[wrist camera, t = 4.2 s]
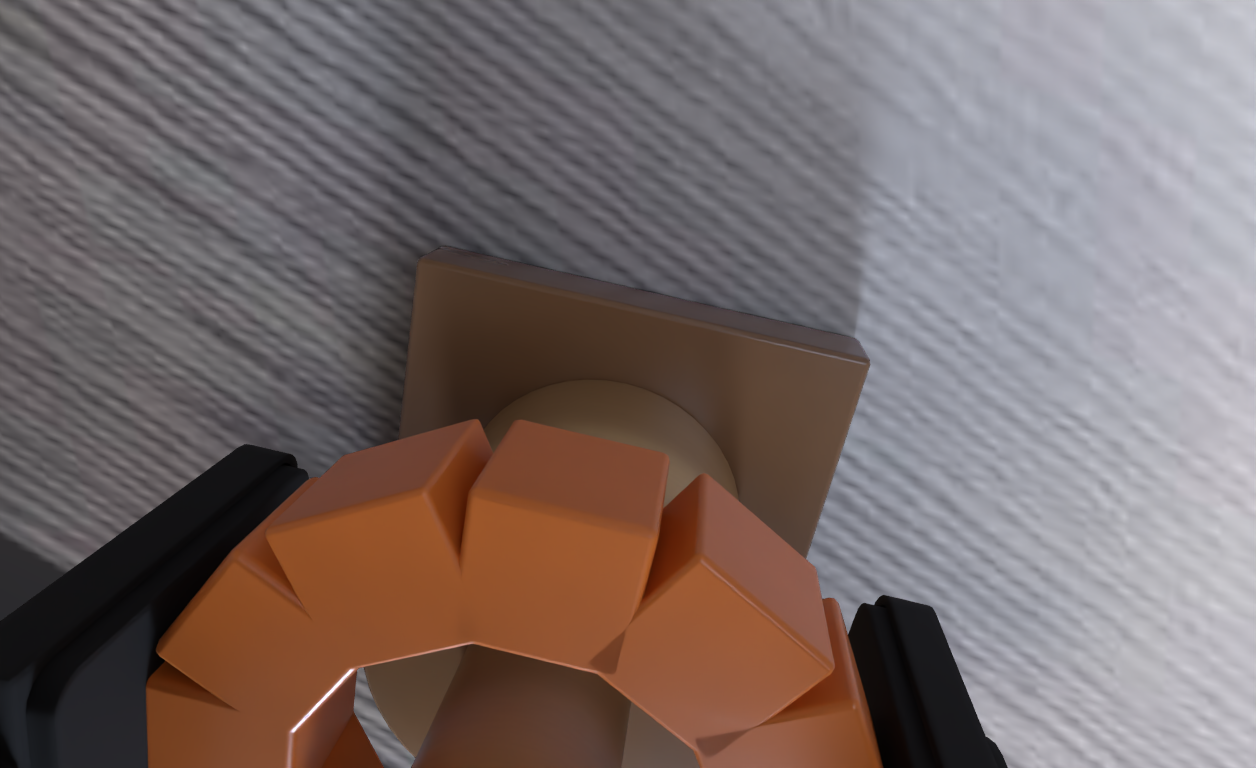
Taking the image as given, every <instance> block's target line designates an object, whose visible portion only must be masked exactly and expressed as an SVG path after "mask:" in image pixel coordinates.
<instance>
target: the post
mask: <svg viewBox="0 0 1256 768" xmlns="http://www.w3.org/2000/svg"><path fill="white" fill-rule="evenodd" d="M869 367H870V360H869V358H868V356H867V354H866V353H865V351H864V349H863V348H862V346H861V344H860V342H859V341H858V340H857V339H855V338H851V337H847V336H842V335H838V334H833V333H829V332H825V331H820V330H816V329H811V328H807V327H802V326H798V325H794V324H789V323H785V322H780V321H776V320H771V319H767V318H762V317H758V316H754V315H749V314H745V313H740V312H736V311H731V310H727V309H723V308H718V307H714V306H709V305H705V304H700V303H696V302H692V301H687V300H683V299H678V298H674V297H669V296H665V295H661V294H656V293H652V292H647V291H643V290H638V289H634V288H630V287H625V286H621V285H616V284H612V283H607V282H603V281H598V280H594V279H590V278H585V277H581V276H576V275H572V274H567V273H563V272H559V271H554V270H550V269H545V268H541V267H536V266H532V265H528V264H523V263H519V262H514V261H510V260H505V259H501V258H497V257H492V256H488V255H483V254H479V253H474V252H470V251H466V250H461V249H457V248H452V247H448V246H443V247H440V248H438V249H436V250H434V251H432V252H430V253H428V254H426V255H425V256H423V257H421V258H419V260H418V262H417V269H416V278H415V287H414V297H413V306H412V315H411V324H410V334H409V343H408V352H407V361H406V371H405V380H404V389H403V398H402V407H401V417H400V426H399V435H398V440H400V439H404V438H407V437H411V436H414V435H418V434H421V433H425V432H429V431H432V430H436V429H439V428H443V427H446V426H450V425H454V424H457V423H461V422H464V421H468V420H471V419H478V420H479V421H480V423H481V425H482V428H483V430H484V432H485V435H486V437H487V440H488V442H489V444H490V447H491V449H492V451H493V453H494V451H495V450H496V448H497V447H498V445H499V444H500V442H501V440H502V439H503V437H504V436H505V434H506V433H507V431H508V430H509V428H510V426H511V425H512V423H513V422H514V421H515V420H525V421H530V422H534V423H538V424H543V425H547V426H551V427H555V428H560V429H564V430H568V431H573V432H577V433H581V434H586V435H590V436H594V437H598V438H603V439H607V440H611V441H616V442H620V443H624V444H628V445H633V446H637V447H641V448H646V449H650V450H654V451H658V452H663V453H665V454H667V455H668V456H669V461H670V465H669V471H668V478H667V485H666V492H665V499H664V505H663V508H664V507H665V506H666V505H667V504H668V503H670V502H671V501H672V500H673V499H674V498H675V497H676V496H677V495H678V494H679V493H680V492H681V491H682V490H683V489H685V488H686V487H687V486H688V485H689V484H690V483H691V482H692V481H693V480H694V479H695V478H696V477H697V476H699V475H700V474H702V473H706V474H708V475H709V476H710V477H712V478H713V479H714V480H715V481H716V482H717V483H719V484H720V485H721V486H722V487H723V488H724V489H725V490H727V491H728V492H729V493H730V494H731V495H732V496H734V497H735V498H736V499H737V500H738V501H739V502H740V503H742V504H743V505H744V506H745V507H746V508H747V509H749V510H750V511H751V512H752V513H753V514H754V515H755V516H757V517H758V518H759V519H760V520H761V521H762V522H763V523H765V524H766V525H767V526H768V527H769V528H770V529H772V530H773V531H774V532H775V533H776V534H777V535H778V536H780V537H781V538H782V539H783V540H784V541H785V542H787V543H788V544H789V545H790V546H791V547H792V548H793V549H795V550H796V551H797V552H798V553H799V554H800V555H802V556H803V557H804V558H805V559H806V558H807V555H808V552H809V549H810V546H811V543H812V540H813V537H814V534H815V531H816V528H817V525H818V521H819V518H820V515H821V512H822V509H823V506H824V503H825V500H826V497H827V494H828V491H829V488H830V485H831V482H832V479H833V476H834V473H835V470H836V467H837V464H838V461H839V458H840V455H841V452H842V449H843V446H844V443H845V440H846V437H847V434H848V431H849V427H850V424H851V421H852V418H853V415H854V412H855V409H856V406H857V403H858V400H859V397H860V394H861V391H862V388H863V385H864V382H865V379H866V376H867V373H868V370H869ZM364 671H365V674H366V678H367V681H368V685H369V688H370V691H371V693H372V696H373V698H374V700H375V703H376V705H377V707H378V709H379V711H380V713H381V714H382V716H383V718H384V719H385V721H386V723H387V724H388V726H389V728H390V729H391V730H392V732H393V733H394V734H395V736H396V737H397V738H398V739H399V741H400V742H401V743H402V745H403V746H404V747H405V748H406V749H407V750H408V751H409V752H410V753H411V754H412V755H413V756H414V757H415V760H414V763H413V765H412V767H411V768H700V767H699V764H698V762H697V759H696V756H695V754H694V751H693V750H692V749H691V748H690V747H688V746H687V745H686V744H685V743H683V742H682V741H681V740H680V739H678V738H677V737H676V736H675V735H673V734H672V733H671V732H669V731H668V730H667V729H666V728H664V727H663V726H662V725H661V724H659V723H658V722H657V721H656V720H654V719H653V718H652V717H651V716H649V715H648V714H647V713H646V712H644V711H643V710H642V709H640V708H639V707H638V706H637V705H635V704H634V703H633V702H632V701H630V700H629V699H628V698H627V697H625V696H624V695H623V694H622V693H620V692H619V691H618V690H617V689H615V688H614V687H613V686H611V685H610V684H609V683H608V682H606V681H605V680H604V679H603V678H601V677H600V676H599V675H598V674H595V673H591V672H587V671H582V670H578V669H574V668H570V667H566V666H562V665H558V664H554V663H550V662H546V661H542V660H537V659H533V658H529V657H525V656H521V655H517V654H513V653H509V652H505V651H501V650H496V649H492V648H488V647H484V646H480V645H476V644H469V645H465V646H460V647H455V648H451V649H446V650H441V651H437V652H432V653H427V654H423V655H418V656H413V657H408V658H404V659H399V660H394V661H390V662H385V663H380V664H376V665H371V666H366V667H364Z"/></svg>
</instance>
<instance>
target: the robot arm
mask: <svg viewBox="0 0 1256 768" xmlns="http://www.w3.org/2000/svg"><path fill="white" fill-rule="evenodd" d="M307 480H309V477H308V473H307V472H306V471H305V470H303V469H299V468H298V464H297V461H296V458H295V457H294V456H293V455H292V454H288V453H283V452H279V451H275V450H271V449H267V448H262V447H258V446H254V445H248V444H244V445H242V446H240V447H238V448H237V449H236V450H234V451H233V452H232V453H230V454H229V455H227V456H226V457H225V458H223V459H222V460H221V461H219V462H218V463H216V464H215V465H214V466H212V467H211V468H210V469H208V470H207V471H205V472H204V473H203V474H201V475H200V476H199V477H197V478H196V479H195V480H193V481H192V482H190V483H189V484H188V485H186V486H185V487H184V488H182V489H181V490H179V491H178V492H177V493H175V494H174V495H173V496H171V497H170V498H168V499H167V500H166V501H164V502H163V503H162V504H160V505H159V506H158V507H156V508H155V509H153V510H152V511H151V512H149V513H148V514H147V515H145V516H144V517H142V518H141V519H140V520H138V521H137V522H136V523H134V524H133V525H131V526H130V527H129V528H127V529H126V530H125V531H123V532H122V533H120V534H119V535H118V536H116V537H115V538H114V539H112V540H111V541H110V542H108V543H107V544H105V545H104V546H103V547H101V548H100V549H99V550H97V551H96V552H94V553H93V554H92V555H90V556H89V557H88V558H86V559H85V560H83V561H82V562H81V563H79V564H78V565H77V566H75V567H74V568H73V569H71V570H70V571H68V572H67V573H66V574H64V575H63V576H62V577H60V578H59V579H57V580H56V581H55V582H53V583H52V584H51V585H49V586H48V587H47V588H45V589H44V590H42V591H41V592H40V593H38V594H37V595H36V596H34V597H33V598H31V599H30V600H29V601H27V602H26V603H25V604H23V605H22V606H20V607H19V608H18V609H17V610H15V611H14V612H12V613H11V614H9V615H8V616H7V617H6V618H4V619H3V620H1V621H0V768H148V747H147V714H146V684H147V681H148V679H149V678H150V676H151V675H152V674H153V673H154V672H155V671H156V670H157V669H158V668H159V667H160V666H161V665H162V664H163V663H164V662H165V660H164V659H163V658H161V657H160V656H159V655H158V653H157V652H156V647H157V644H158V641H159V639H160V638H161V637H162V636H163V634H164V633H165V632H166V631H167V630H168V628H169V627H170V626H171V625H172V623H173V622H174V621H175V620H176V618H177V617H178V616H179V615H180V613H181V612H182V611H183V610H184V608H185V607H186V606H187V605H188V604H189V602H190V601H191V600H192V599H193V597H194V596H195V595H196V594H197V592H198V591H199V590H200V589H201V587H202V586H203V585H204V584H205V582H206V581H207V580H208V579H209V578H210V576H211V575H212V574H213V573H214V571H215V570H216V569H217V568H218V566H219V565H220V564H221V563H222V561H223V560H224V559H225V558H226V556H227V555H228V554H229V553H230V552H231V550H232V549H233V548H235V547H236V546H237V545H238V544H239V543H240V542H241V541H242V540H243V539H244V538H245V537H246V536H247V535H249V534H250V533H251V532H252V531H253V530H254V529H255V528H256V527H257V526H258V525H259V524H260V523H261V522H263V521H264V520H265V519H266V518H267V517H268V516H269V515H270V514H271V513H272V512H273V511H274V510H275V509H277V508H278V507H279V506H280V505H281V504H282V503H283V502H284V501H285V500H286V499H287V498H288V497H289V496H291V495H292V494H293V493H294V492H295V491H296V490H297V489H298V488H299V487H300V486H301V485H302V484H303V483H305V482H306V481H307ZM848 637H849V641H850V644H851V648H852V651H853V654H854V658H855V661H856V665H857V668H858V672H859V675H860V678H861V682H862V685H863V689H864V692H865V696H866V699H867V703H868V706H869V709H870V713H871V717H872V721H873V725H874V730H875V734H876V738H877V742H878V747H879V751H880V755H881V759H882V764H883V768H1008V767H1007V765H1006V762H1005V760H1004V758H1003V755H1002V754H1001V752H1000V750H999V749H998V747H997V745H996V744H995V743H994V742H993V741H992V740H990V739H989V738H988V737H986V736H985V734H984V732H983V729H982V727H981V724H980V722H979V719H978V717H977V714H976V712H975V709H974V707H973V704H972V702H971V699H970V697H969V695H968V692H967V690H966V687H965V685H964V682H963V680H962V677H961V675H960V672H959V670H958V667H957V665H956V662H955V660H954V658H953V655H952V653H951V650H950V648H949V645H948V643H947V640H946V638H945V635H944V633H943V630H942V628H941V625H940V623H939V620H938V618H937V616H936V613H935V611H934V610H933V608H932V607H930V606H928V605H924V604H920V603H915V602H911V601H907V600H903V599H899V598H894V597H890V596H886V595H882V596H880V597H879V598H878V599H877V601H876V602H875V604H874V605H871V604H867V603H863V604H861V606H860V607H859V608H858V611H857V613H856V615H855V618H854V621H853V623H852V626H851V629H850V631H849V634H848Z"/></svg>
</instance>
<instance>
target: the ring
mask: <svg viewBox="0 0 1256 768" xmlns="http://www.w3.org/2000/svg"><path fill="white" fill-rule="evenodd" d="M669 465H670V461H669V456H668V455H667V454H665V453H663V452H658V451H654V450H650V449H646V448H641V447H637V446H633V445H628V444H624V443H620V442H616V441H611V440H607V439H603V438H598V437H594V436H590V435H586V434H581V433H577V432H573V431H568V430H564V429H560V428H555V427H551V426H547V425H543V424H538V423H534V422H530V421H525V420H515V421H514V422H513V423H512V425H511V426H510V428H509V430H508V431H507V433H506V434H505V436H504V437H503V439H502V440H501V442H500V444H499V445H498V447H497V448H496V450H495V451H494V453H493V451H492V449H491V447H490V444H489V442H488V440H487V437H486V435H485V432H484V430H483V428H482V425H481V423H480V421H479V420H478V419H471V420H468V421H464V422H461V423H457V424H454V425H450V426H446V427H443V428H439V429H436V430H432V431H429V432H425V433H421V434H418V435H414V436H411V437H407V438H404V439H400V440H397V441H393V442H389V443H386V444H382V445H379V446H375V447H372V448H368V449H364V450H361V451H357V452H354V453H350V454H347V455H344V456H342V457H341V458H340V459H339V460H338V461H337V462H336V463H335V464H334V465H333V466H332V467H331V468H330V469H329V470H328V471H326V472H325V473H324V474H323V475H322V476H321V477H320V478H318V477H314V478H311V479H309V480H307V481H306V482H305V483H303V484H302V485H301V486H300V487H299V488H298V489H297V490H296V491H295V492H294V493H293V494H292V495H291V496H289V497H288V498H287V499H286V500H285V501H284V502H283V503H282V504H281V505H280V506H279V507H278V508H277V509H275V510H274V511H273V512H272V513H271V514H270V515H269V516H268V517H267V518H266V519H265V520H264V521H263V522H261V523H260V524H259V525H258V526H257V527H256V528H255V529H254V530H253V531H252V532H251V533H250V534H249V535H247V536H246V537H245V538H244V539H243V540H242V541H241V542H240V543H239V544H238V545H237V546H236V547H235V548H233V549H232V550H231V552H230V553H229V554H228V555H227V556H226V558H225V559H224V560H223V561H222V563H221V564H220V565H219V566H218V568H217V569H216V570H215V571H214V573H213V574H212V575H211V576H210V578H209V579H208V580H207V581H206V582H205V584H204V585H203V586H202V587H201V589H200V590H199V591H198V592H197V594H196V595H195V596H194V597H193V599H192V600H191V601H190V602H189V604H188V605H187V606H186V607H185V608H184V610H183V611H182V612H181V613H180V615H179V616H178V617H177V618H176V620H175V621H174V622H173V623H172V625H171V626H170V627H169V628H168V630H167V631H166V632H165V633H164V634H163V636H162V637H161V638H160V639H159V641H158V644H157V647H156V652H157V653H158V655H159V656H160V657H161V658H163V659H164V660H165V662H164V663H163V664H162V665H161V666H160V667H159V668H158V669H157V670H156V671H155V672H154V673H153V674H152V675H151V676H150V678H149V679H148V681H147V684H146V714H147V747H148V768H384V767H383V765H382V763H381V761H380V760H379V758H378V756H377V754H376V752H375V750H374V748H373V747H372V745H371V743H370V741H369V739H368V737H367V735H366V734H365V732H364V730H363V728H362V726H361V724H360V722H359V721H358V719H357V717H356V715H355V713H354V711H353V707H354V697H355V686H356V675H357V670H358V669H359V668H362V667H366V666H371V665H376V664H380V663H385V662H390V661H394V660H399V659H404V658H408V657H413V656H418V655H423V654H427V653H432V652H437V651H441V650H446V649H451V648H455V647H460V646H465V645H469V644H476V645H480V646H484V647H488V648H492V649H496V650H501V651H505V652H509V653H513V654H517V655H521V656H525V657H529V658H533V659H537V660H542V661H546V662H550V663H554V664H558V665H562V666H566V667H570V668H574V669H578V670H582V671H587V672H591V673H595V674H598V675H599V676H600V677H601V678H603V679H604V680H605V681H606V682H608V683H609V684H610V685H611V686H613V687H614V688H615V689H617V690H618V691H619V692H620V693H622V694H623V695H624V696H625V697H627V698H628V699H629V700H630V701H632V702H633V703H634V704H635V705H637V706H638V707H639V708H640V709H642V710H643V711H644V712H646V713H647V714H648V715H649V716H651V717H652V718H653V719H654V720H656V721H657V722H658V723H659V724H661V725H662V726H663V727H664V728H666V729H667V730H668V731H669V732H671V733H672V734H673V735H675V736H676V737H677V738H678V739H680V740H681V741H682V742H683V743H685V744H686V745H687V746H688V747H690V748H691V749H692V750H693V751H694V754H695V756H696V759H697V762H698V764H699V767H700V768H883V764H882V759H881V755H880V751H879V747H878V742H877V738H876V734H875V730H874V725H873V721H872V717H871V713H870V709H869V706H868V703H867V699H866V696H865V692H864V689H863V685H862V682H861V678H860V675H859V672H858V668H857V665H856V661H855V658H854V654H853V651H852V648H851V644H850V641H849V637H848V634H847V630H846V627H845V623H844V620H843V617H842V613H841V610H840V606H839V604H838V602H837V601H836V600H835V599H834V598H826V599H822V596H821V591H820V586H819V581H818V575H817V571H816V569H815V567H814V566H813V565H812V564H811V563H810V562H808V561H807V560H806V559H805V558H804V557H803V556H802V555H800V554H799V553H798V552H797V551H796V550H795V549H793V548H792V547H791V546H790V545H789V544H788V543H787V542H785V541H784V540H783V539H782V538H781V537H780V536H778V535H777V534H776V533H775V532H774V531H773V530H772V529H770V528H769V527H768V526H767V525H766V524H765V523H763V522H762V521H761V520H760V519H759V518H758V517H757V516H755V515H754V514H753V513H752V512H751V511H750V510H749V509H747V508H746V507H745V506H744V505H743V504H742V503H740V502H739V501H738V500H737V499H736V498H735V497H734V496H732V495H731V494H730V493H729V492H728V491H727V490H725V489H724V488H723V487H722V486H721V485H720V484H719V483H717V482H716V481H715V480H714V479H713V478H712V477H710V476H709V475H708V474H706V473H702V474H700V475H699V476H697V477H696V478H695V479H694V480H693V481H692V482H691V483H690V484H689V485H688V486H687V487H686V488H685V489H683V490H682V491H681V492H680V493H679V494H678V495H677V496H676V497H675V498H674V499H673V500H672V501H671V502H670V503H668V504H667V505H666V506H665V507H664V508H663V505H664V499H665V492H666V485H667V478H668V471H669Z"/></svg>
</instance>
